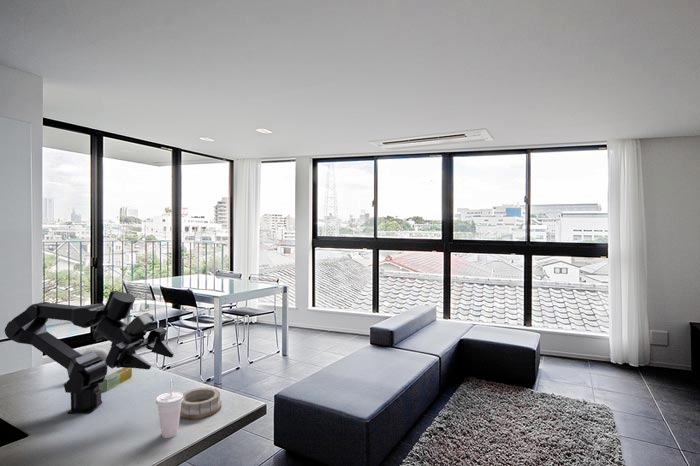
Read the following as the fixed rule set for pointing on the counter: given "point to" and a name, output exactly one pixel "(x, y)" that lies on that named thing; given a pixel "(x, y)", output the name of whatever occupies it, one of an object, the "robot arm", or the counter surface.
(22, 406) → the counter surface
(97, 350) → the donut
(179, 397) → the smoothie
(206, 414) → the stone fire pit
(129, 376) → the medication box
